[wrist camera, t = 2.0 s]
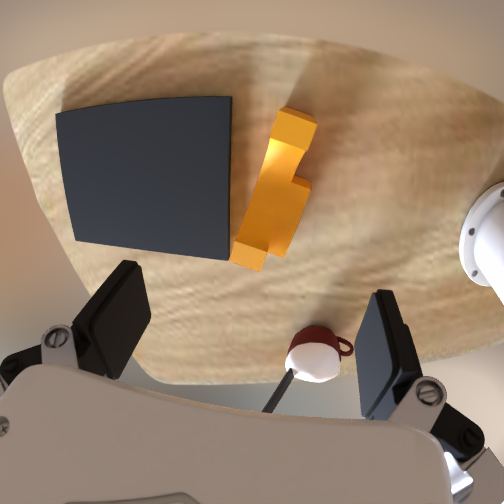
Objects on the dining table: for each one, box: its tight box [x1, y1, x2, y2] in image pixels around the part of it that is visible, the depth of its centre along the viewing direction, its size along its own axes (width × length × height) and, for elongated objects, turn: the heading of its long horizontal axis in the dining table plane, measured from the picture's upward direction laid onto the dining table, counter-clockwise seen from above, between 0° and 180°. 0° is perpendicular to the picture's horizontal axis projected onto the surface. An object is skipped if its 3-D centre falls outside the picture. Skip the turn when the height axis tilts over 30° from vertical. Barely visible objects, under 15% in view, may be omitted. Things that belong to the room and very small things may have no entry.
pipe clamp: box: [229, 106, 318, 272], centre depth 23 cm, size 12×4×6 cm, turn 163°
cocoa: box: [262, 326, 354, 413], centre depth 30 cm, size 10×6×12 cm, turn 84°
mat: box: [55, 96, 232, 261], centre depth 28 cm, size 20×16×1 cm
